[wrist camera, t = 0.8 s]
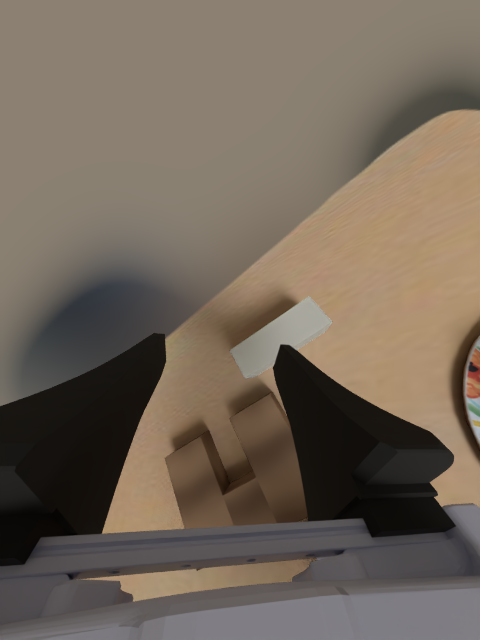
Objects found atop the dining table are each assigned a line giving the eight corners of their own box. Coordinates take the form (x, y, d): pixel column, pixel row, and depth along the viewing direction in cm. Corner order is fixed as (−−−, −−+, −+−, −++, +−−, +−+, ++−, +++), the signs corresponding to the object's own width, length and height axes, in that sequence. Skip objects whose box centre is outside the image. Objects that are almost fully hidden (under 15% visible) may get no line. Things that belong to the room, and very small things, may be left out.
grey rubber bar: (325, 332, 25) (332, 321, 19) (256, 376, 26) (244, 378, 21) (307, 311, 26) (309, 296, 21) (243, 353, 28) (229, 350, 22)
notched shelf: (329, 489, 20) (333, 504, 18) (207, 550, 22) (196, 570, 20) (272, 391, 25) (269, 394, 23) (176, 450, 27) (164, 458, 25)
